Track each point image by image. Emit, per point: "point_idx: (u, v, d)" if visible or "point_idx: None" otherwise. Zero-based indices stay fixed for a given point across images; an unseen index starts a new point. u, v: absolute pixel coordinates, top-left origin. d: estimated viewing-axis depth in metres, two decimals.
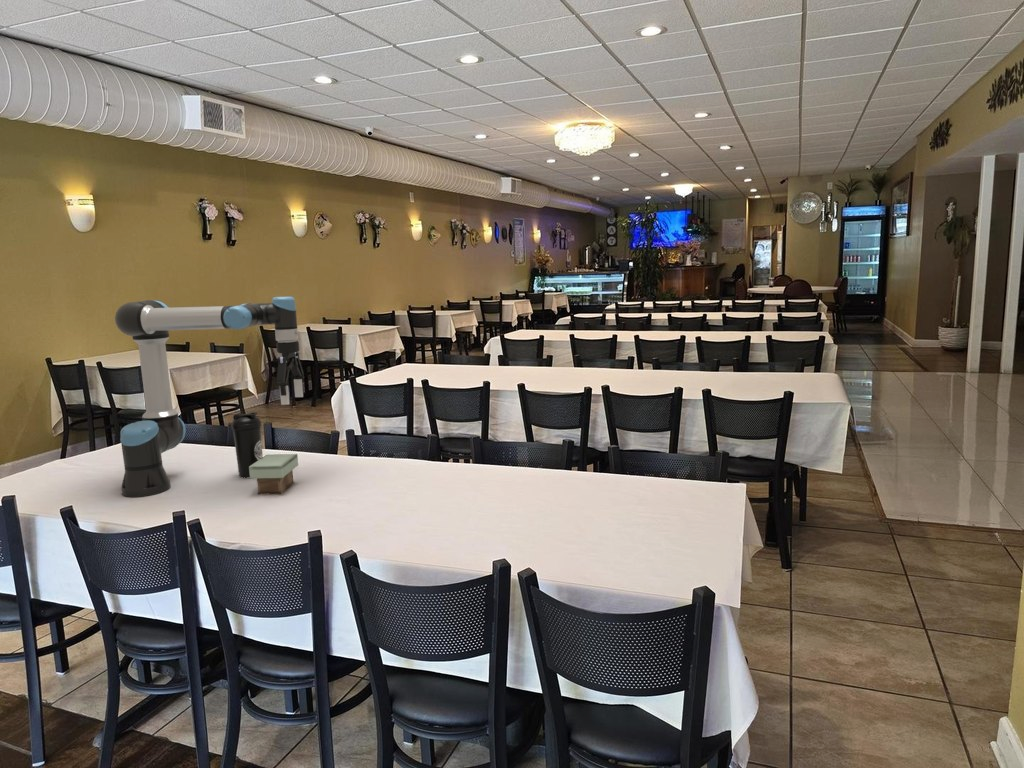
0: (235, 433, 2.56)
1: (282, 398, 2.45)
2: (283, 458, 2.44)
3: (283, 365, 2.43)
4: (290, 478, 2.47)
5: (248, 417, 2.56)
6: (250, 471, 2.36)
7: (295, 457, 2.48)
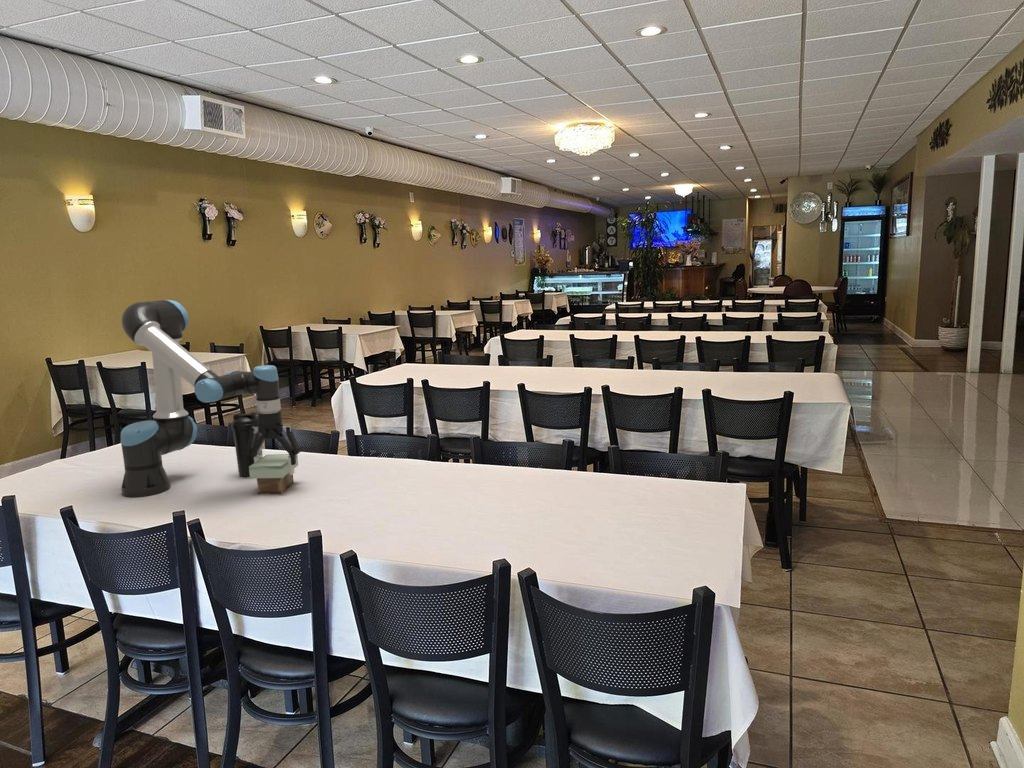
0: (235, 433, 2.56)
1: None
2: (283, 458, 2.44)
3: None
4: (290, 478, 2.47)
5: (248, 417, 2.56)
6: (250, 471, 2.36)
7: None
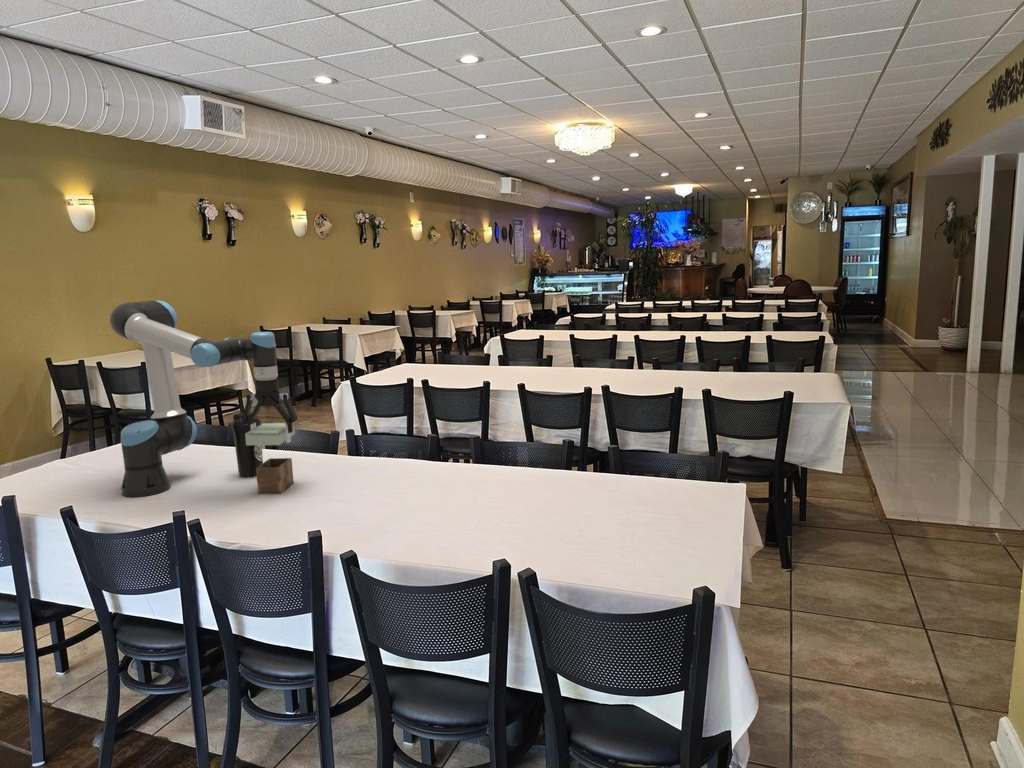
0: (235, 433, 2.56)
1: None
2: (280, 426, 2.43)
3: None
4: (290, 478, 2.47)
5: None
6: (246, 438, 2.34)
7: None
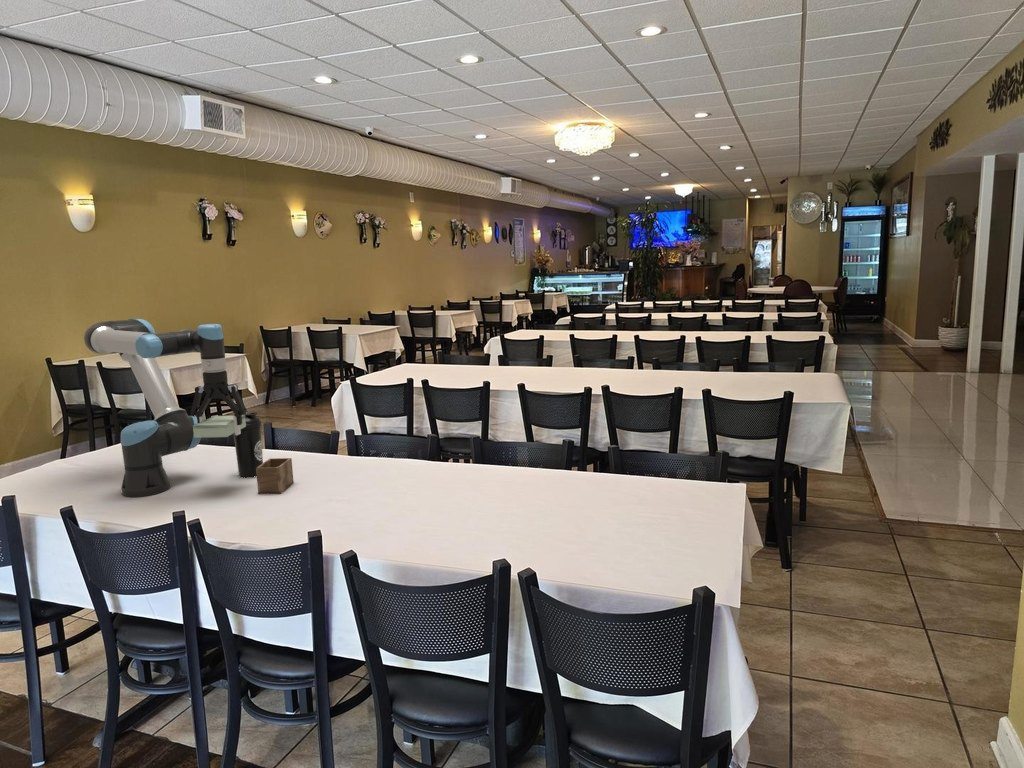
0: None
1: None
2: (229, 418, 2.42)
3: None
4: (290, 478, 2.47)
5: (248, 417, 2.56)
6: (194, 430, 2.33)
7: (242, 418, 2.45)
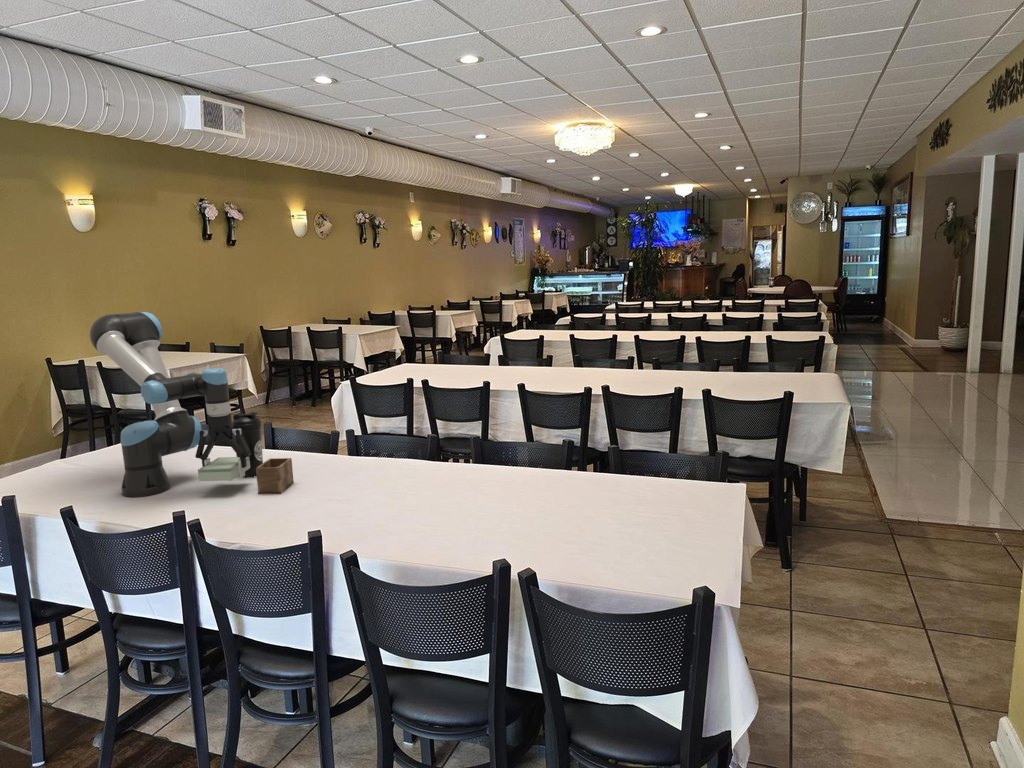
0: None
1: None
2: (234, 461, 2.44)
3: None
4: (290, 478, 2.47)
5: (248, 417, 2.56)
6: (199, 474, 2.36)
7: (246, 460, 2.48)
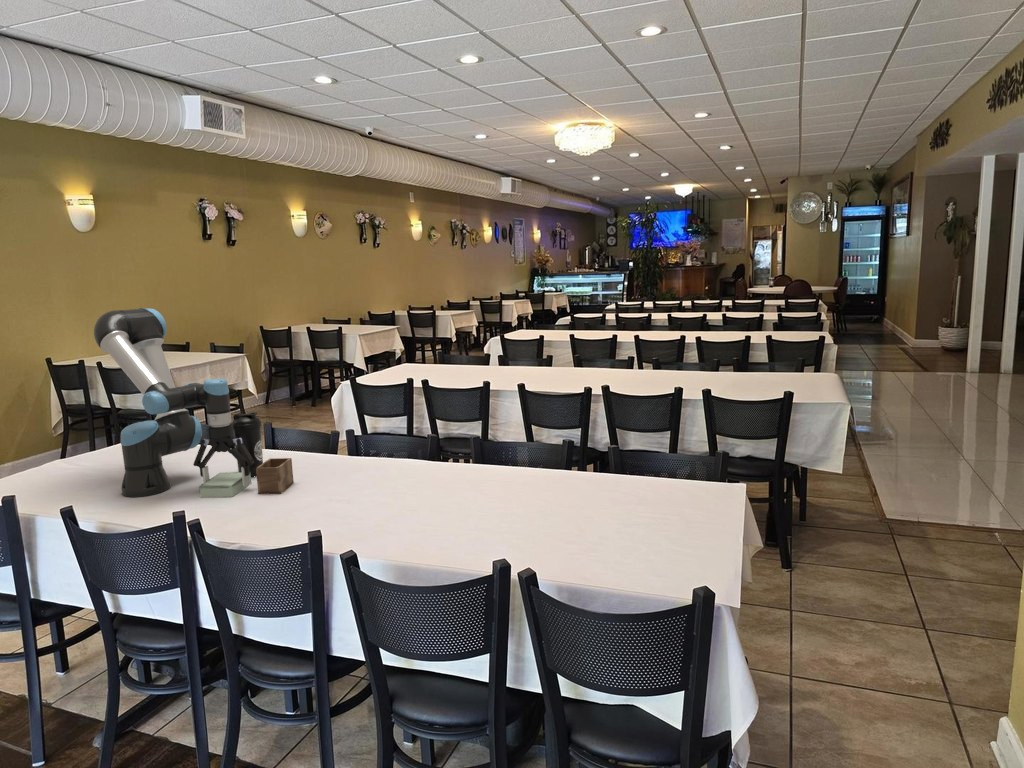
0: (235, 433, 2.56)
1: None
2: (235, 476, 2.46)
3: None
4: (290, 478, 2.47)
5: (248, 417, 2.56)
6: (200, 490, 2.37)
7: (248, 475, 2.49)
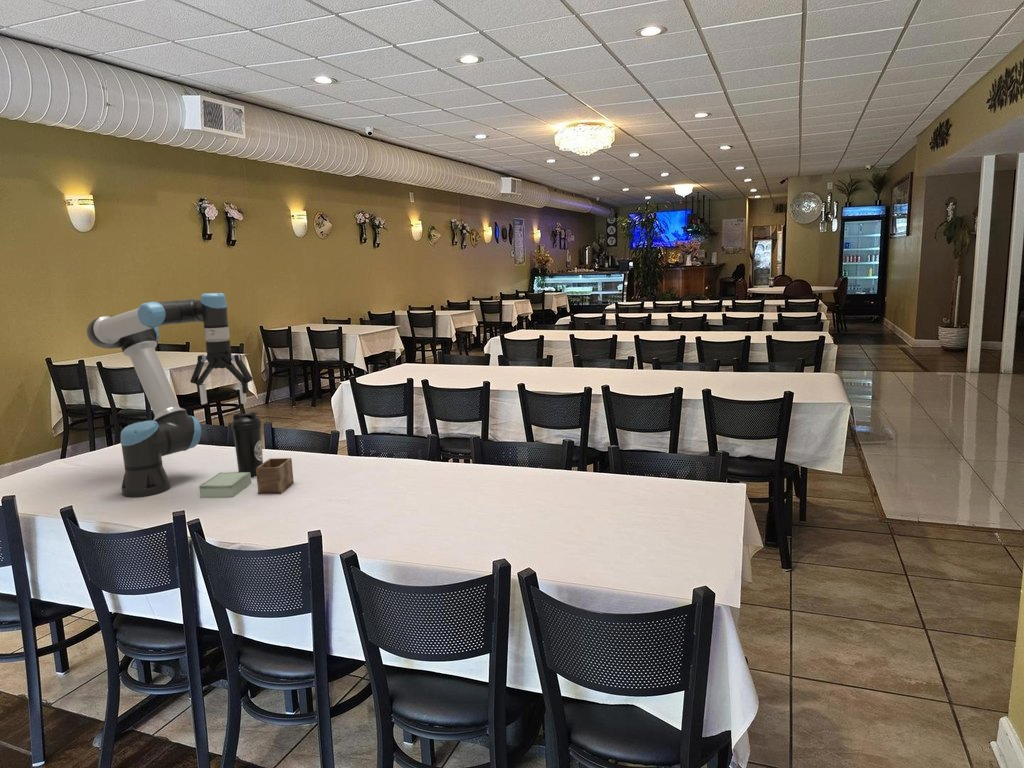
0: (235, 433, 2.56)
1: None
2: (235, 476, 2.46)
3: None
4: (290, 478, 2.47)
5: (248, 417, 2.56)
6: (200, 490, 2.37)
7: (248, 475, 2.49)
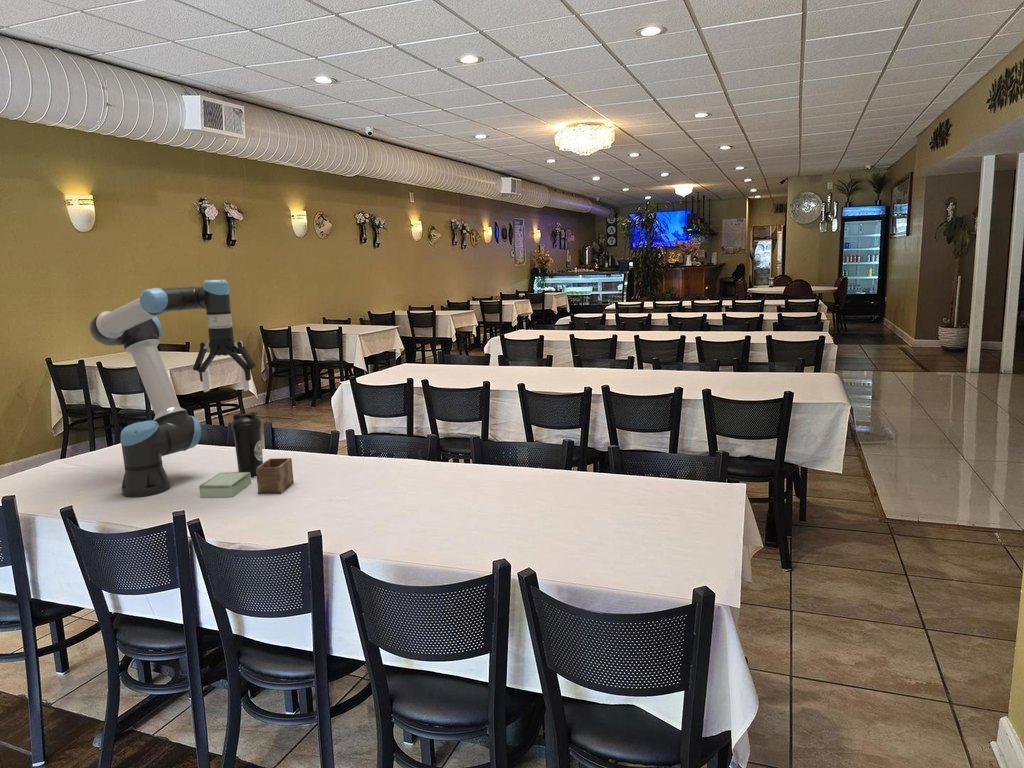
0: (235, 433, 2.56)
1: None
2: (235, 476, 2.46)
3: None
4: (290, 478, 2.47)
5: (248, 417, 2.56)
6: (200, 490, 2.37)
7: (248, 475, 2.49)
